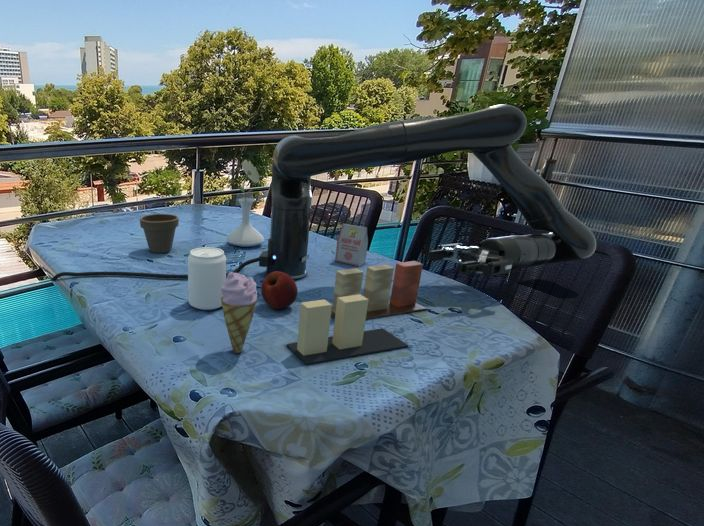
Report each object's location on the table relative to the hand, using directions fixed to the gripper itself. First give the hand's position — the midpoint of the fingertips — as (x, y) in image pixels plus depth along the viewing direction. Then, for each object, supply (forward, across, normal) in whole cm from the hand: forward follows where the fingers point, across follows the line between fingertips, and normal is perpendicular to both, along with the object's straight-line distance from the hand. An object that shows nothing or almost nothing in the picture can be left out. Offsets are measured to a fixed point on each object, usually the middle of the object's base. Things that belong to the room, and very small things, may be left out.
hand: (443, 262), depth 97 cm
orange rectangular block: (+8, 0, +8) cm, 12 cm away
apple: (+34, -8, +9) cm, 35 cm away
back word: (+15, 0, +9) cm, 18 cm away
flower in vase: (+22, -54, +9) cm, 59 cm away
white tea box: (+2, -28, +9) cm, 30 cm away
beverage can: (+48, -14, +9) cm, 50 cm away
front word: (+30, +12, +9) cm, 33 cm away
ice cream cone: (+49, +7, +9) cm, 50 cm away
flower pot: (+48, -57, +8) cm, 75 cm away
